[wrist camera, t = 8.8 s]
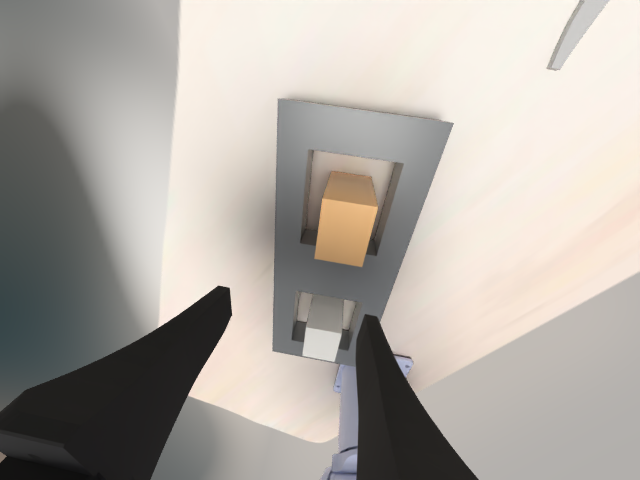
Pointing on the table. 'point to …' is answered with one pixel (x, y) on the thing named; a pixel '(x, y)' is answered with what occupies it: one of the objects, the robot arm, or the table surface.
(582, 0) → the pliers
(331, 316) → the white plug
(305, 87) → the table surface
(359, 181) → the orange plug
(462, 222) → the table surface
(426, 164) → the grey two-slot frame
